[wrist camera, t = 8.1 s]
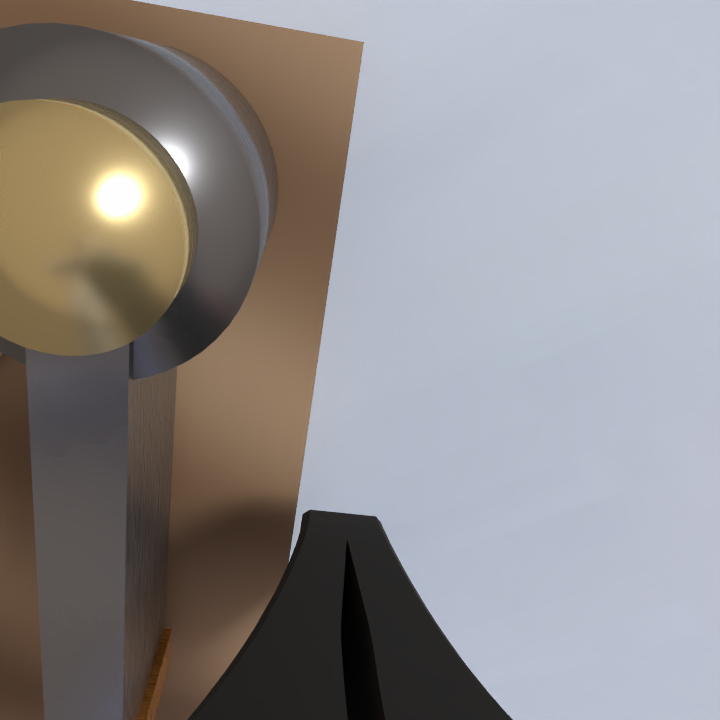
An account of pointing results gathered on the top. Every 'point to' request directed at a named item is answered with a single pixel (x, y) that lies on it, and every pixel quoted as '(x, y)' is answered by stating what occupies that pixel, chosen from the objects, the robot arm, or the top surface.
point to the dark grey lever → (116, 322)
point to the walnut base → (212, 364)
